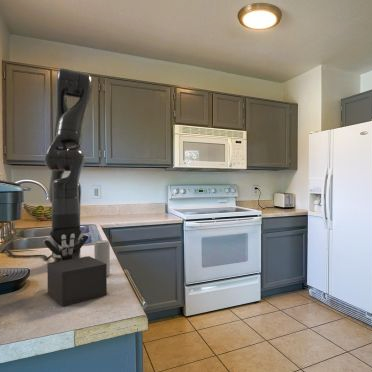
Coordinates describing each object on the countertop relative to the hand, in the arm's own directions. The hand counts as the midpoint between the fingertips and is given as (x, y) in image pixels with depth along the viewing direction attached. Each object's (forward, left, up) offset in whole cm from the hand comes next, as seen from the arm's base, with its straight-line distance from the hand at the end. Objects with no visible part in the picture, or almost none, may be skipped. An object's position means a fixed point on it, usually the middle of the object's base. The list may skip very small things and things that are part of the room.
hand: (66, 267), depth 99 cm
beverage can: (-3, +12, -6) cm, 14 cm away
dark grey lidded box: (+10, 0, -6) cm, 12 cm away
